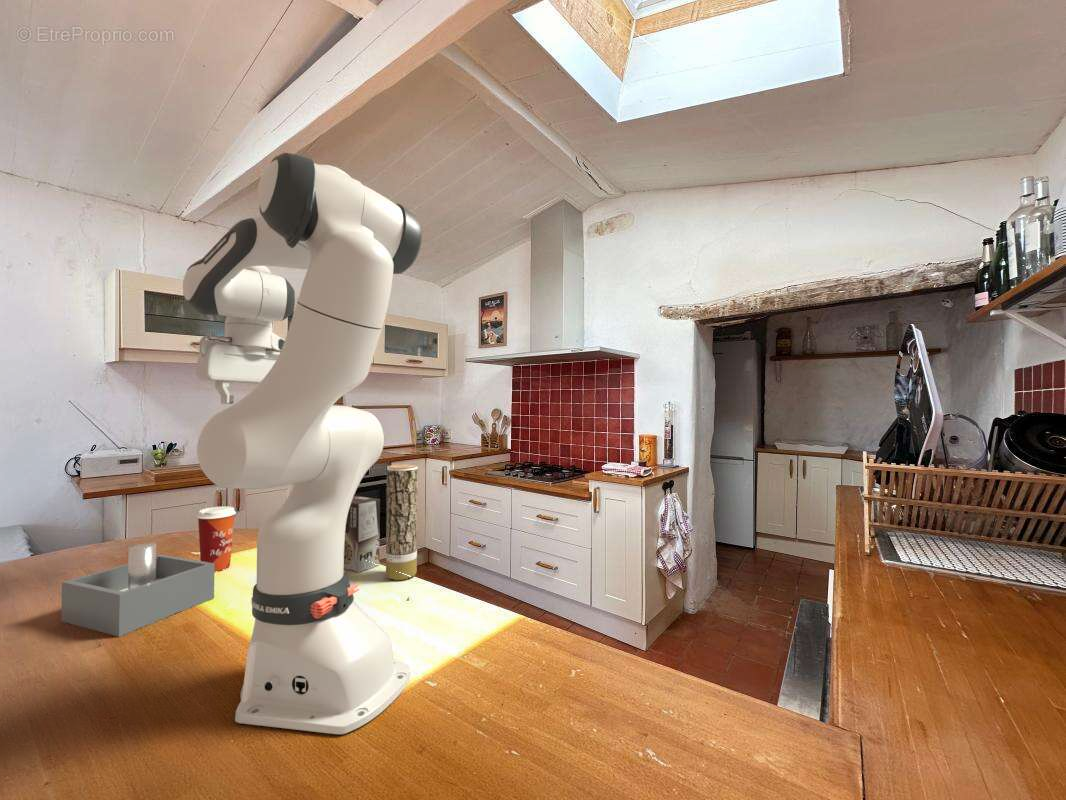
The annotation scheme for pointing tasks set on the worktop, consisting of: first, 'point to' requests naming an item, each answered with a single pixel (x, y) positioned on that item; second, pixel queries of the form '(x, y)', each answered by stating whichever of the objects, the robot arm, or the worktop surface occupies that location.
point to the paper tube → (401, 521)
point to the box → (135, 595)
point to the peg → (141, 564)
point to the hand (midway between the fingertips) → (248, 404)
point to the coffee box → (362, 534)
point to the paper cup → (216, 535)
